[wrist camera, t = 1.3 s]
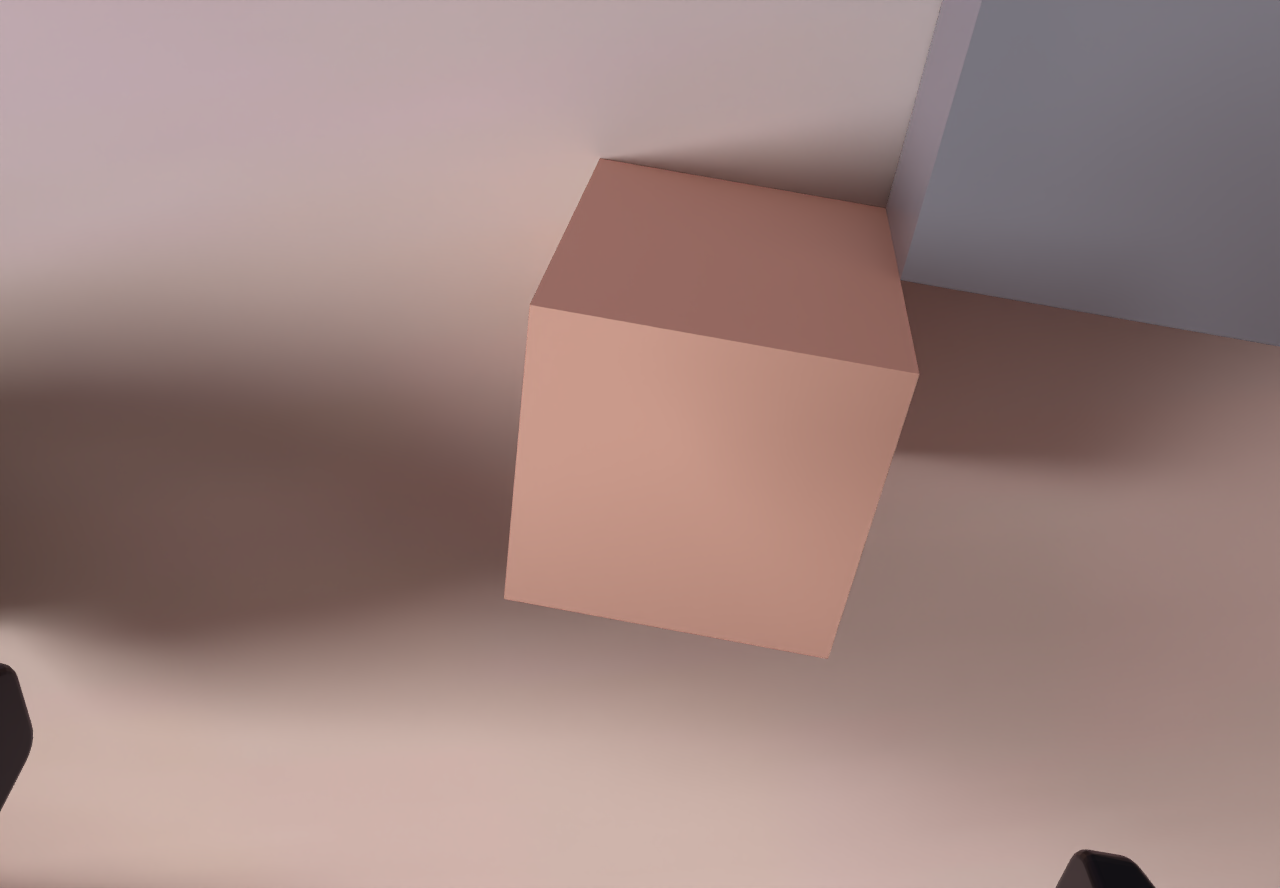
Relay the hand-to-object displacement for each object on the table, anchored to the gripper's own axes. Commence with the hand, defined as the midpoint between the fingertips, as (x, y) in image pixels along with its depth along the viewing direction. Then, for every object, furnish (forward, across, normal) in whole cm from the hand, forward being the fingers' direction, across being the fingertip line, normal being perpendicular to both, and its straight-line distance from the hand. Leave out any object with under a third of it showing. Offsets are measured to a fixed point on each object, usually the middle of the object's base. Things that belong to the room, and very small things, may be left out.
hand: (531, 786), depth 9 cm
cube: (+12, -1, +1) cm, 12 cm away
